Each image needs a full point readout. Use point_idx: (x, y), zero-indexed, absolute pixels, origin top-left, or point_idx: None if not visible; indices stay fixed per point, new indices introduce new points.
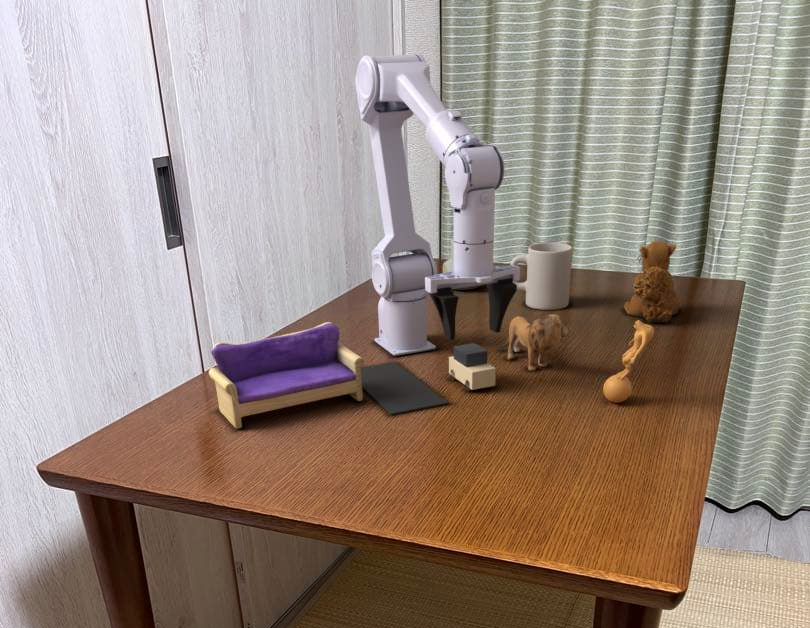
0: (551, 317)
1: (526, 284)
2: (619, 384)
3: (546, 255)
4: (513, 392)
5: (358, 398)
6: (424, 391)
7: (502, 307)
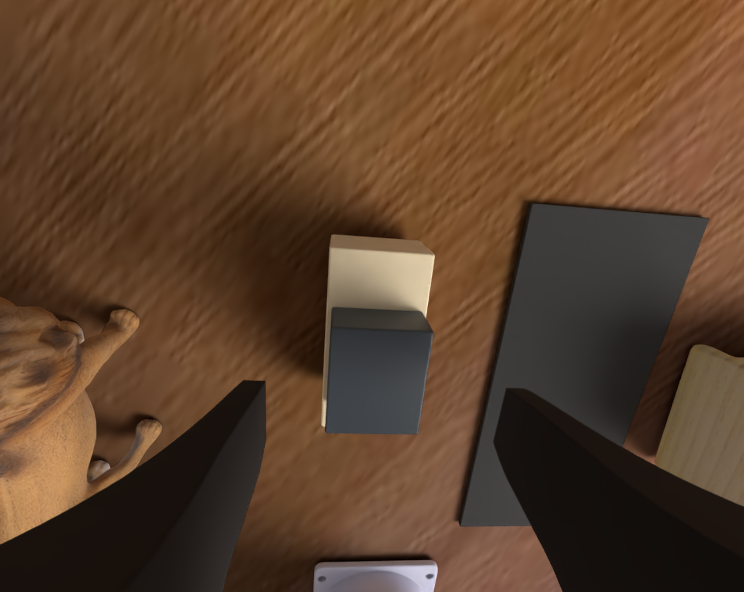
0: None
1: None
2: None
3: None
4: (290, 175)
5: (712, 347)
6: (531, 317)
7: (188, 469)
